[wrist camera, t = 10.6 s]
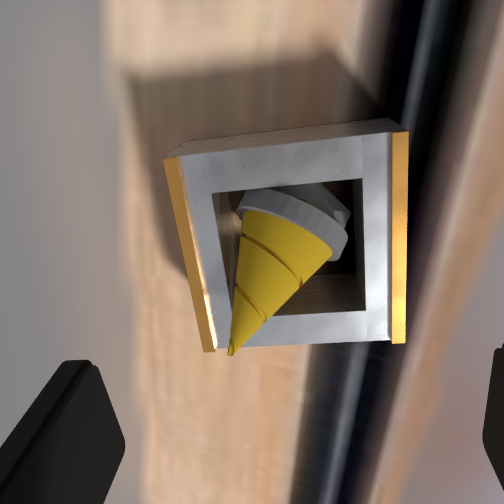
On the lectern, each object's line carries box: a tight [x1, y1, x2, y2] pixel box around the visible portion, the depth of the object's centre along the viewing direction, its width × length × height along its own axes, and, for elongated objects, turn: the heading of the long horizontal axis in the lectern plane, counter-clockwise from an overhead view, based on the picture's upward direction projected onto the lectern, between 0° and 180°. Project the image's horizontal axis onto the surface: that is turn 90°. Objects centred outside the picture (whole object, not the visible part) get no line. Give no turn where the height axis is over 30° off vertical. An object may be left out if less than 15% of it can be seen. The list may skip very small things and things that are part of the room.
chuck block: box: [163, 118, 409, 352], centre depth 21 cm, size 10×10×4 cm
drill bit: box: [228, 182, 351, 356], centre depth 20 cm, size 5×5×10 cm
